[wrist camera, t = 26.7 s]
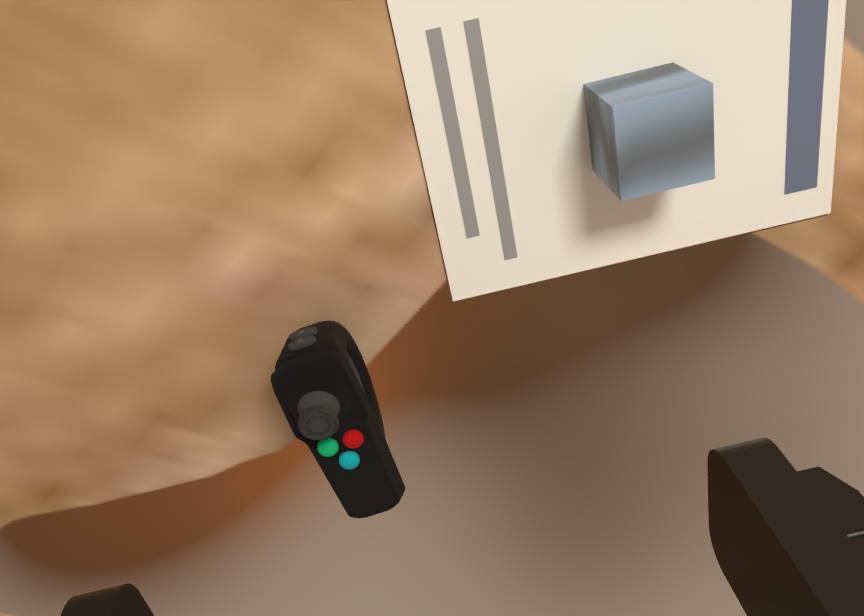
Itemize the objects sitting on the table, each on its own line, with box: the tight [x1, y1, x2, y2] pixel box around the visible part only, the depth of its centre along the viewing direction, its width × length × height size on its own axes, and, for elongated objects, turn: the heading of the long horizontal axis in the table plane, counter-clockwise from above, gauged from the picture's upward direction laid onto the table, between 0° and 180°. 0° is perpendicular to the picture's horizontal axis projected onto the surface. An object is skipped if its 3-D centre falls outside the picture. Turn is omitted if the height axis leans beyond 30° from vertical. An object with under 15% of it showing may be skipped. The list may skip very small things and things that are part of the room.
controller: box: [271, 321, 405, 518], centre depth 44 cm, size 4×12×10 cm, turn 18°
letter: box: [387, 0, 846, 301], centre depth 42 cm, size 18×24×1 cm
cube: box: [583, 62, 715, 201], centre depth 40 cm, size 5×5×5 cm
